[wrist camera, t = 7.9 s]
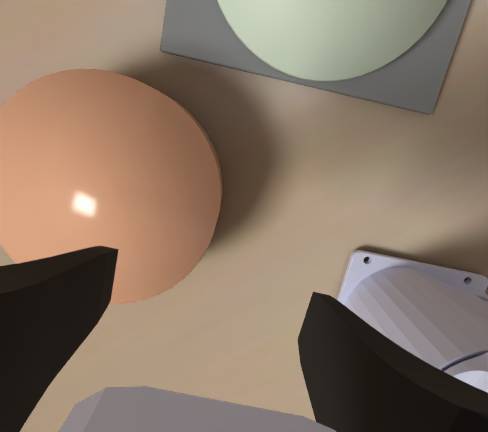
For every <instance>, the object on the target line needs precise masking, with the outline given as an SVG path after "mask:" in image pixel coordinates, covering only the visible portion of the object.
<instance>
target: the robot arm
mask: <svg viewBox="0 0 488 432" xmlns="http://www.w3.org/2000/svg"><path fill="white" fill-rule="evenodd" d="M118 250H119V249H114V248H110V247H105V246H94V247H89V248H85V249H80V250H76V251H72V252H68V253H64V254H60V255H56V256H52V257H47V258H42V259H38V260H33V261H28V262H23V263H18V264H12V265H5V266H0V432H20V430H21V428H22V427H23V425H24V423H25V422H26V420H27V419H28V417H29V415H30V414H31V412H32V411H33V409H34V408H35V406H36V405H37V403H38V401H39V400H40V398H41V397H42V395H43V394H44V392H45V391H46V389H47V388H48V386H49V385H50V383H51V382H52V381H53V379H54V378H55V377H56V375H57V374H58V373H59V371H60V370H61V369H62V368H63V366H64V365H65V364H66V363H67V361H68V360H69V359H70V358H71V356H72V355H73V354H74V353H75V351H76V350H77V349H78V348H79V346H80V345H81V344H82V342H83V341H84V340H85V339H86V337H87V336H88V335H89V334H90V332H91V331H92V330H93V328H94V327H95V326H96V325H97V323H98V322H99V320H100V318H101V317H102V315H103V313H104V312H105V310H106V308H107V306H108V304H109V303H110V301H111V296H112V289H113V283H114V276H115V270H116V263H117V257H118ZM365 257H369V260H368V261H366V262H363V261H364V258H365ZM467 277H468V279H467V280H466V281H464V279H465V278H467ZM487 287H488V278H487V277H485V276H483V275H481V274H476V273H471V272H467V271H462V270H457V269H452V268H447V267H442V266H437V265H432V264H427V263H422V262H417V261H412V260H408V259H403V258H398V257H393V256H388V255H383V254H378V253H373V252H368V251H363V250H356V251H354V252H353V253H352V254H351V257H350V260H349V263H348V266H347V269H346V273H345V276H344V279H343V282H342V285H341V288H340V291H339V295H338V298H337V300H336V299H335V298H333V297H331V296H329V295H325V294H321V293H316V292H313V294H312V297H311V300H310V303H309V306H308V309H307V312H306V315H305V319H304V322H303V325H302V328H301V331H300V334H299V337H298V346H299V355H300V362H301V367H302V371H303V375H304V379H305V383H306V386H307V390H308V394H309V397H310V401H311V405H312V408H313V412H314V416H315V419H316V422H315V421H313V420H311V419H308V418H306V417H304V416H299V415H293V414H288V413H283V412H278V411H272V410H267V409H262V408H256V407H251V406H246V405H241V404H235V403H230V402H225V401H220V400H214V399H209V398H204V397H199V396H193V395H188V394H183V393H177V392H172V391H167V390H162V389H156V388H151V387H146V386H142V387H107V388H104V389H103V390H101V391H99V392H97V393H95V394H94V395H92V396H90V397H88V398H86V399H84V400H83V401H81V402H79V403H77V404H75V406H74V408H73V409H72V411H71V412H70V414H69V416H68V417H67V419H66V421H65V422H64V424H63V426H62V427H61V429H60V430H59V432H488V294H486V293H485V291H486V289H487Z"/></svg>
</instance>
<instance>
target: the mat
mask: <svg viewBox="0 0 488 432" xmlns="http://www.w3.org/2000/svg"><path fill="white" fill-rule="evenodd" d="M470 2H471V0H447V2H446V4H445V5H444V7H443V9H442V10H441V12H440V13H439V15H438V16H437V18H436V19H435V21H434V22H433V24H432V25H431V26H430V27H429V28H428V30H427V31H426V32H425V33H424V34H423V36H422V37H421V38H420V39H419V40H418V41H416V42H415V43H414V44H413V45H412V46H411V47H410V48H409V49H408V50H407V51H405V52H404V53H403V54H401V55H400V56H399V57H397V58H396V59H394V60H393V61H391V62H389V63H387V64H386V65H384V66H382V67H381V68H378V69H376V70H374V71H372V72H369V73H367V74H365V75H362V76H360V77H356V78H352V79H348V80H344V81H336V82H313V81H306V80H300V79H297V78H294V77H291V76H288V75H285V74H283V73H281V72H279V71H277V70H275V69H273V68H271V67H269V66H268V65H266V64H265V63H263V62H262V61H260V60H259V59H258V58H257V57H256V56H255V55H253V54H252V53H251V52H250V51H249V50H248V49H247V48H246V47H245V46H244V45H243V44H242V42H241V41H240V40H239V39H238V38H237V36H236V35H235V34H234V32H233V31H232V29H231V28H230V26H229V25H228V23H227V21H226V19H225V17H224V15H223V13H222V11H221V9H220V7H219V4H218V2H217V0H167V2H166V9H165V16H164V24H163V31H162V38H161V46H160V51H161V52H165V53H169V54H173V55H177V56H182V57H186V58H190V59H194V60H199V61H203V62H207V63H211V64H216V65H220V66H224V67H228V68H233V69H237V70H241V71H245V72H250V73H254V74H258V75H262V76H267V77H271V78H275V79H279V80H284V81H288V82H292V83H296V84H301V85H305V86H309V87H313V88H318V89H322V90H326V91H330V92H335V93H339V94H343V95H347V96H352V97H356V98H360V99H364V100H369V101H373V102H377V103H381V104H386V105H390V106H394V107H398V108H403V109H407V110H411V111H415V112H420V113H424V114H432V113H433V110H434V107H435V104H436V101H437V98H438V95H439V92H440V89H441V86H442V84H443V81H444V78H445V75H446V72H447V69H448V66H449V63H450V60H451V57H452V55H453V52H454V49H455V46H456V43H457V40H458V37H459V34H460V31H461V29H462V26H463V23H464V20H465V17H466V14H467V11H468V8H469V5H470Z"/></svg>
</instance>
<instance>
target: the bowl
mask: <svg viewBox="0 0 488 432" xmlns="http://www.w3.org/2000/svg"><path fill="white" fill-rule="evenodd" d="M222 194H223V181H222V174H221V168H220V164H219V160H218V156H217V154H216V151H215V149H214V146H213V144H212V142H211V140H210V139H209V137H208V135H207V133H206V132H205V130H204V129H203V128H202V126H201V125H200V124H199V122H198V121H197V120H196V119H195V118H194V117H193V116H192V115H191V113H190V112H189V111H188V110H186V109H185V108H184V107H183V106H182V105H180V104H179V103H178V102H177V101H175V100H173V99H172V98H170V97H168V96H167V95H165V94H164V93H162V92H160V91H158V90H156V89H154V88H152V87H150V86H148V85H147V84H144V83H142V82H140V81H138V80H135V79H133V78H131V77H128V76H125V75H121V74H118V73H115V72H109V71H103V70H97V69H75V70H67V71H61V72H57V73H54V74H50V75H46V76H44V77H42V78H40V79H37V80H35V81H33V82H31V83H29V84H28V85H26V86H25V87H23V88H22V89H20V90H19V91H17V92H16V93H15V94H14V95H13V96H12V97H11V98H9V99H8V100H7V101H6V102H5V103H4V105H3V106H2V107H1V108H0V244H1V246H2V247H3V248H4V249H5V251H6V252H7V253H8V254H9V256H10V257H11V258H12V259H13V260H14V261H15V262H16V263H17V264H18V263H23V262H28V261H33V260H38V259H42V258H47V257H52V256H56V255H60V254H64V253H68V252H72V251H76V250H80V249H85V248H89V247H94V246H105V247H110V248H114V249H119V250H118V257H117V263H116V270H115V276H114V283H113V289H112V296H111V301H110V303H109V304H123V303H132V302H136V301H141V300H145V299H148V298H150V297H153V296H156V295H158V294H160V293H162V292H164V291H166V290H168V289H170V288H171V287H173V286H174V285H176V284H177V283H178V282H180V281H181V280H182V279H183V278H185V277H186V276H187V275H188V274H189V273H190V272H191V271H192V270H193V269H194V267H195V266H196V265H197V264H198V262H199V261H200V260H201V258H202V257H203V255H204V253H205V252H206V250H207V248H208V246H209V244H210V241H211V239H212V237H213V234H214V230H215V227H216V223H217V219H218V215H219V212H220V208H221V202H222Z"/></svg>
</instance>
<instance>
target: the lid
mask: <svg viewBox="0 0 488 432" xmlns="http://www.w3.org/2000/svg"><path fill="white" fill-rule="evenodd" d="M217 2H218V4H219V7H220V9H221V11H222V13H223V15H224V17H225V19H226V21H227V23H228V25H229V26H230V28H231V29H232V31H233V32H234V34H235V35H236V36H237V38H238V39H239V40H240V41H241V42H242V44H243V45H244V46H245V47H246V48H247V49H248V50H249V51H250V52H251V53H252V54H253V55H255V56H256V57H257V58H258V59H259V60H260V61H262V62H263V63H265V64H266V65H268V66H269V67H271V68H273V69H275V70H277V71H279V72H281V73H283V74H285V75H288V76H291V77H294V78H297V79H300V80H306V81H313V82H336V81H344V80H348V79H352V78H356V77H360V76H362V75H365V74H367V73H369V72H372V71H374V70H376V69H378V68H381V67H382V66H384V65H386V64H387V63H389V62H391V61H393V60H394V59H396V58H397V57H399V56H400V55H401V54H403V53H404V52H405V51H407V50H408V49H409V48H410V47H411V46H412V45H413V44H414V43H415V42H416V41H418V40H419V39H420V38H421V37H422V36H423V34H424V33H425V32H426V31H427V30H428V28H429V27H430V26H431V25H432V24H433V22H434V21H435V19H436V18H437V16H438V15H439V13H440V12H441V10H442V9H443V7H444V5H445V4H446V2H447V0H217Z"/></svg>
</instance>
